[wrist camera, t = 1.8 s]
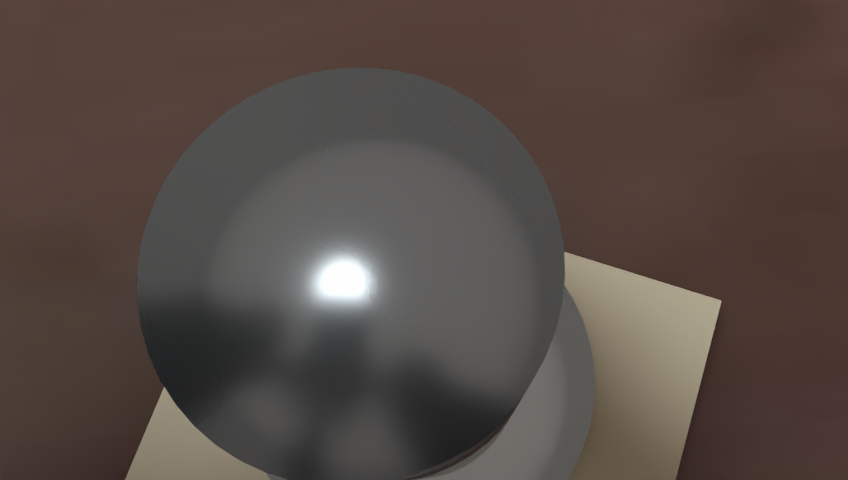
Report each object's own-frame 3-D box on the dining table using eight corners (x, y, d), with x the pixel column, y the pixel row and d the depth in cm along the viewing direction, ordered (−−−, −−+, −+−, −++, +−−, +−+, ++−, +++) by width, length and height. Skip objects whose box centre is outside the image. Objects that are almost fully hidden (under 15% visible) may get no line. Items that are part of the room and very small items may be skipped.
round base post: (641, 434, 16) (909, 371, 6) (377, 616, 15) (196, 877, 5) (467, 188, 17) (456, -175, 8) (221, 344, 17) (-133, 168, 7)
